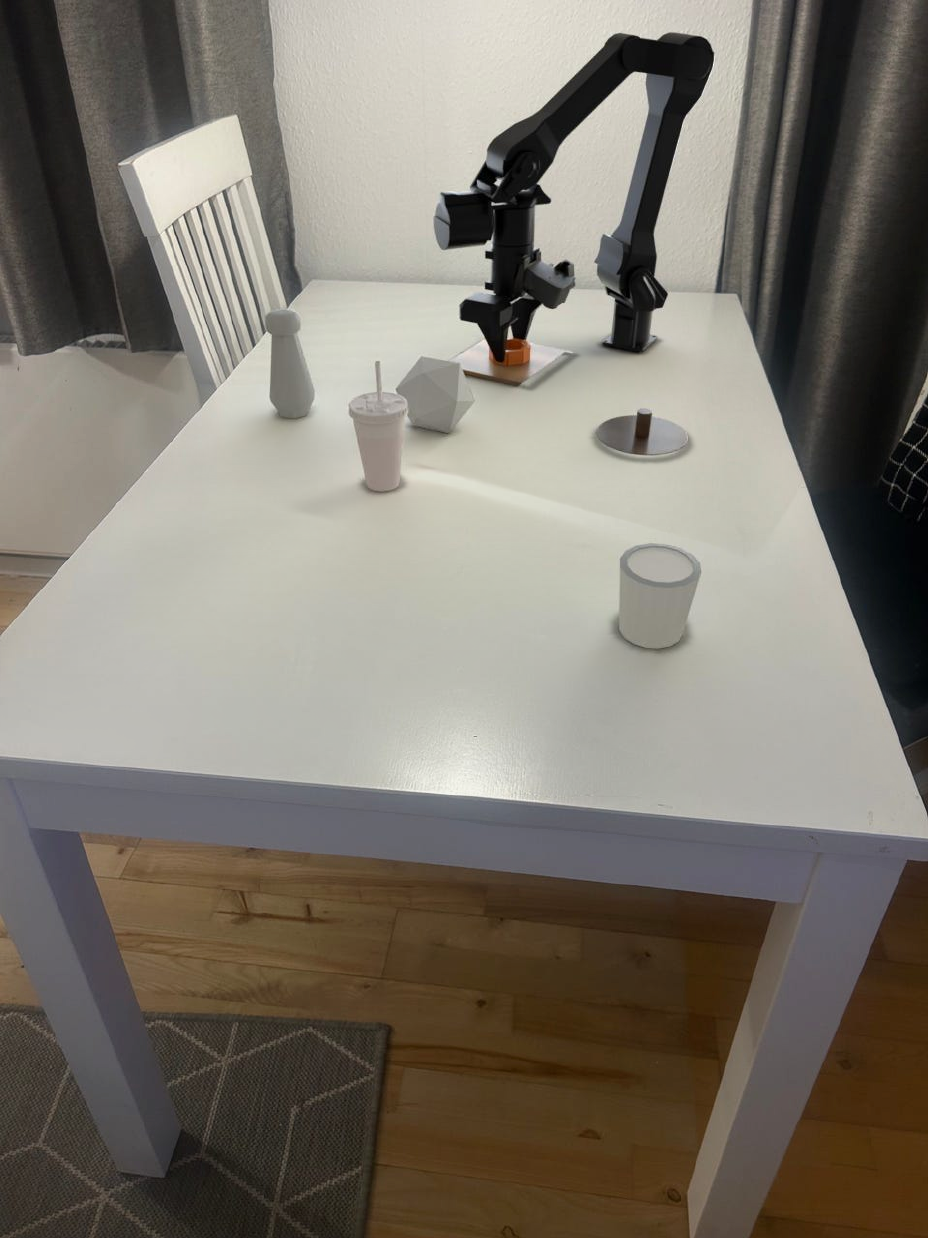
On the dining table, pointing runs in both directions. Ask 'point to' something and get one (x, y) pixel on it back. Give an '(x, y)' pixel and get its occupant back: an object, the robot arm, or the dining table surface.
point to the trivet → (482, 366)
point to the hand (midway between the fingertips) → (509, 354)
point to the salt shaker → (288, 366)
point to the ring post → (642, 434)
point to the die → (436, 394)
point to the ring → (514, 352)
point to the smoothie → (380, 434)
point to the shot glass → (656, 593)
